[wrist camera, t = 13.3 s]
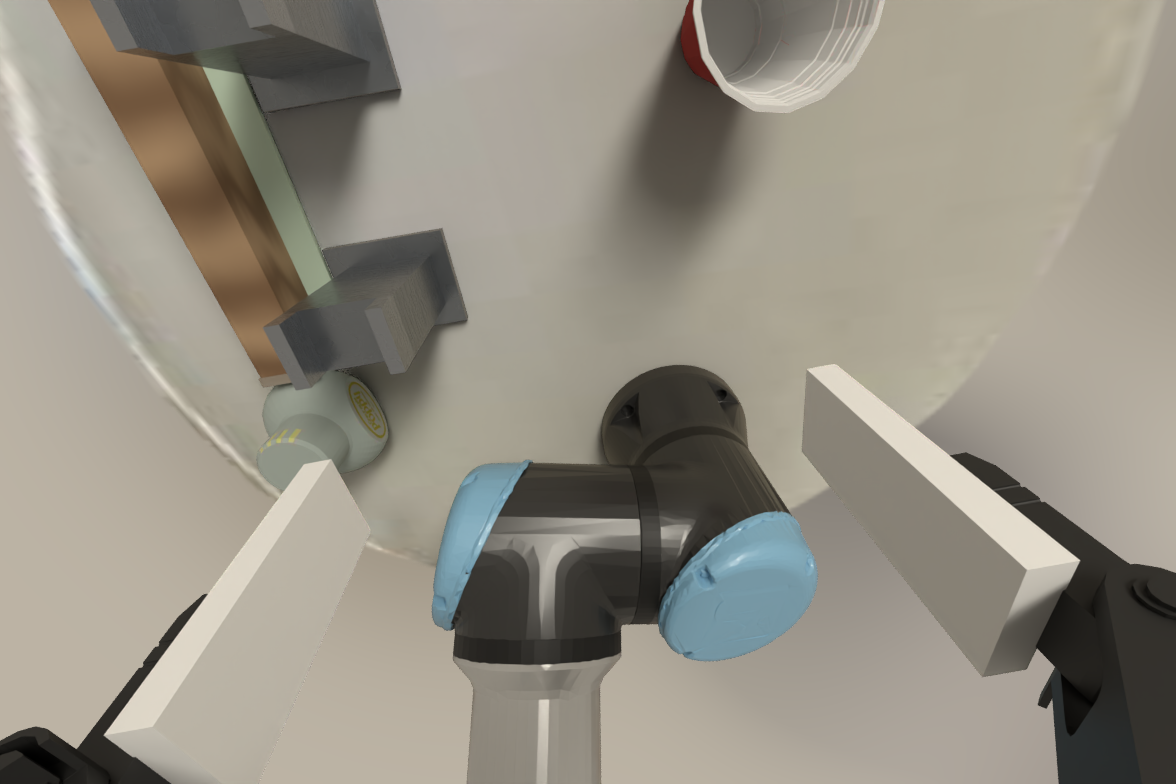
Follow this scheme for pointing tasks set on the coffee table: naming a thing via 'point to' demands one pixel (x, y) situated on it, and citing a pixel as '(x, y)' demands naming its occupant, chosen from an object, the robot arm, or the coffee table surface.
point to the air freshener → (320, 427)
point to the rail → (196, 180)
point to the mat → (270, 175)
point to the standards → (294, 79)
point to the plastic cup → (777, 47)
